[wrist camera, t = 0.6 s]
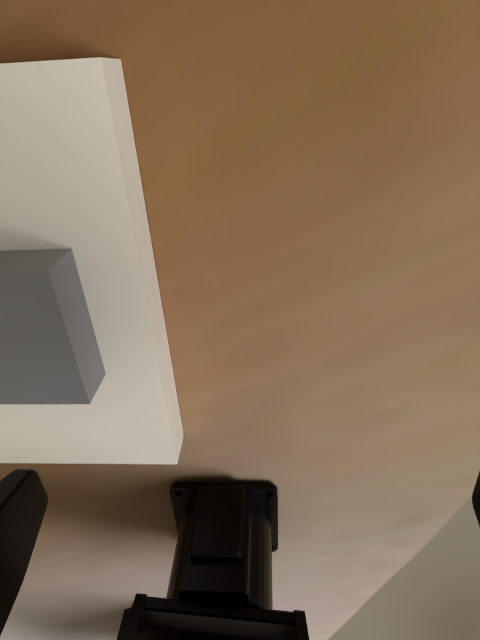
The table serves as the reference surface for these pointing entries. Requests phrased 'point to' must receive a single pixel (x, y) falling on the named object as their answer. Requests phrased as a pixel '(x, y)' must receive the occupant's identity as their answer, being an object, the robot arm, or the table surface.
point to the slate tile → (45, 331)
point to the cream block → (87, 260)
